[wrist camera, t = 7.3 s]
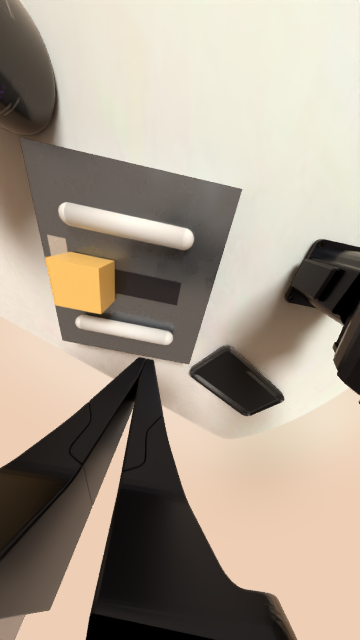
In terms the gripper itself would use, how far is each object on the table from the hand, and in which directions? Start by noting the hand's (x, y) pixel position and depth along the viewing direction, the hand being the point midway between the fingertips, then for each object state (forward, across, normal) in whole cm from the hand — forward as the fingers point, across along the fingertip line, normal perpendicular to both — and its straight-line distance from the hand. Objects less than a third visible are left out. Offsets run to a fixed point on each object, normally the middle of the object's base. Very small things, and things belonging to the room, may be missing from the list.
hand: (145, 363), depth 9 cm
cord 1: (+9, +4, +4) cm, 11 cm away
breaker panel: (+12, +4, -1) cm, 13 cm away
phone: (+12, -13, +13) cm, 22 cm away
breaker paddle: (+9, +7, -1) cm, 11 cm away
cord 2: (+9, +4, -6) cm, 11 cm away
